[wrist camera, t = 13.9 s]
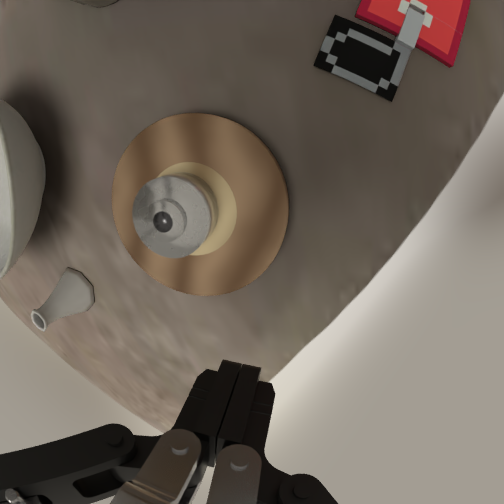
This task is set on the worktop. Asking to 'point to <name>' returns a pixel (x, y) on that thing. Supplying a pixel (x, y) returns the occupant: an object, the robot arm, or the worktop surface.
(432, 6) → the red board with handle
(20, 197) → the decorative bowl
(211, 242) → the turntable
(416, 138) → the worktop surface
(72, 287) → the flask
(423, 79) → the worktop surface
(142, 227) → the cover
